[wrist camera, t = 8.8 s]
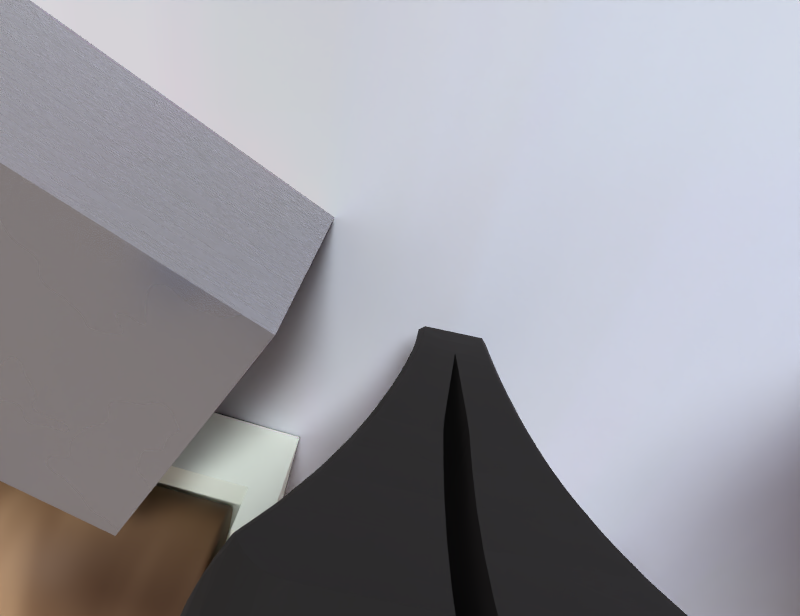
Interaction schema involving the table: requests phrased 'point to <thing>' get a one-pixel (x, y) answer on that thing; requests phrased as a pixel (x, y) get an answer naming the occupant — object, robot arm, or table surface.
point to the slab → (124, 271)
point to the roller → (106, 556)
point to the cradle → (234, 467)
